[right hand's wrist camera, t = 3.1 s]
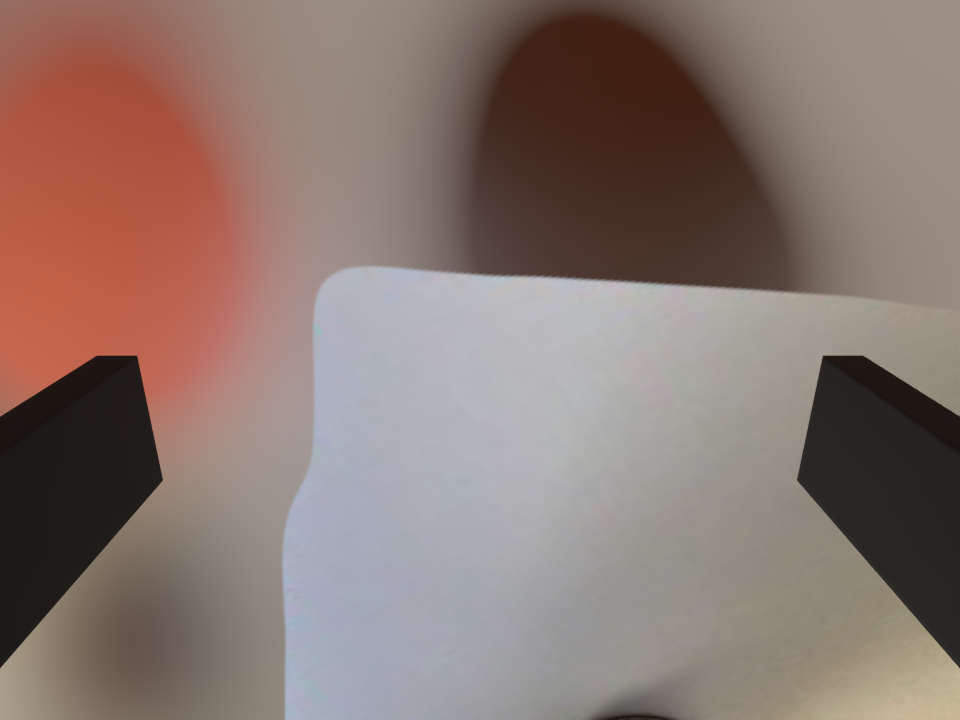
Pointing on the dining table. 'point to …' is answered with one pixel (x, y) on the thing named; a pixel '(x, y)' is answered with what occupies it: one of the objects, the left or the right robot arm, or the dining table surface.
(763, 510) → the dining table surface
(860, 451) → the right robot arm
